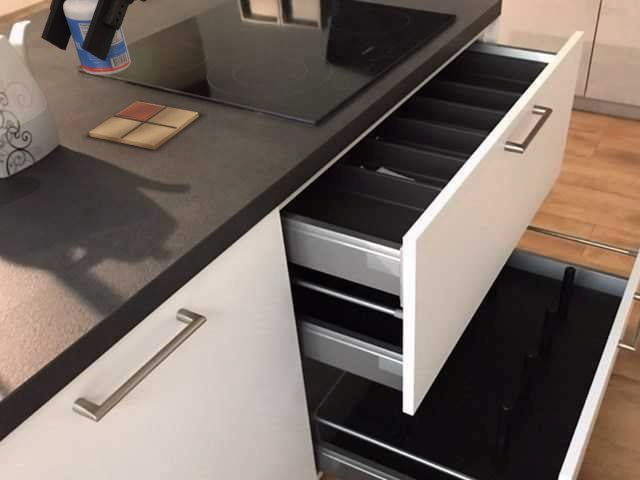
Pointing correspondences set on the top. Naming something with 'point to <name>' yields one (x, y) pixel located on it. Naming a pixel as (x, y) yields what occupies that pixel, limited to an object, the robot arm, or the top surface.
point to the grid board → (144, 125)
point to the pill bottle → (79, 18)
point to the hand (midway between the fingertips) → (73, 48)
